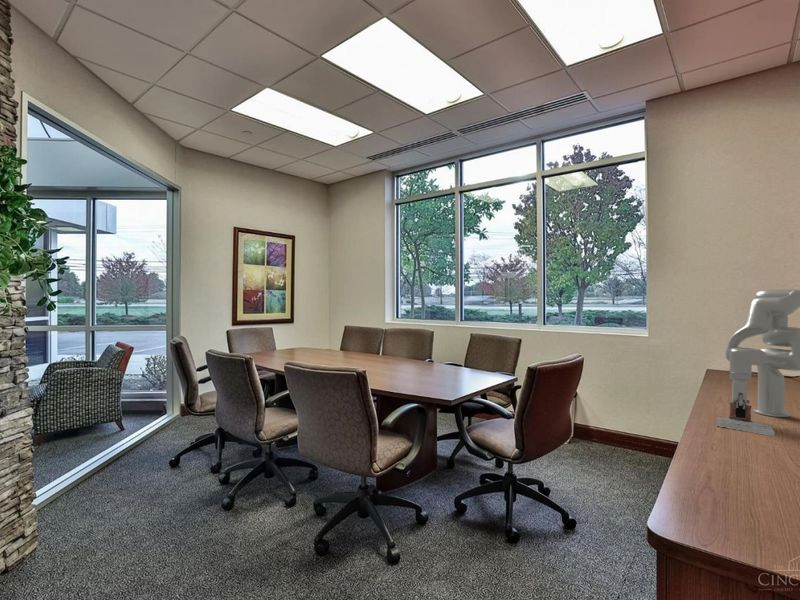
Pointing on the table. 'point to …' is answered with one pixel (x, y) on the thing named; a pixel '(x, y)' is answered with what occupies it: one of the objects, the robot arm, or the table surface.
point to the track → (746, 426)
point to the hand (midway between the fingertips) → (740, 415)
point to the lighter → (733, 412)
